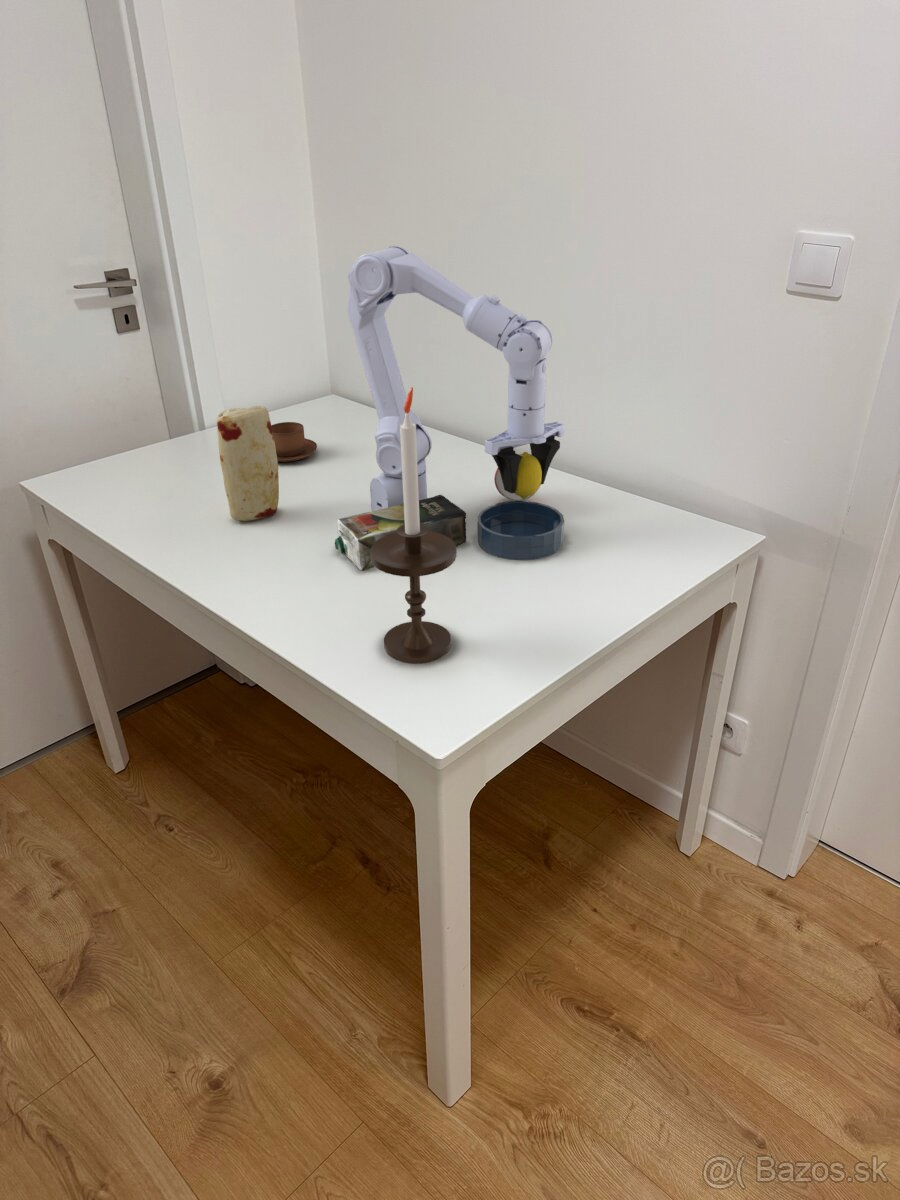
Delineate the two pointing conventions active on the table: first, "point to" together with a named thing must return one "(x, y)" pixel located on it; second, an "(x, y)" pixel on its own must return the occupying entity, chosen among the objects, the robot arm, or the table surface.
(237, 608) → the table surface
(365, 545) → the juice carton
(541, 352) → the robot arm
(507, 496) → the canned food
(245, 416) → the food model
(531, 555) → the bowl
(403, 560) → the candlestick
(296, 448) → the cup and saucer
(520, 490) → the lemon
